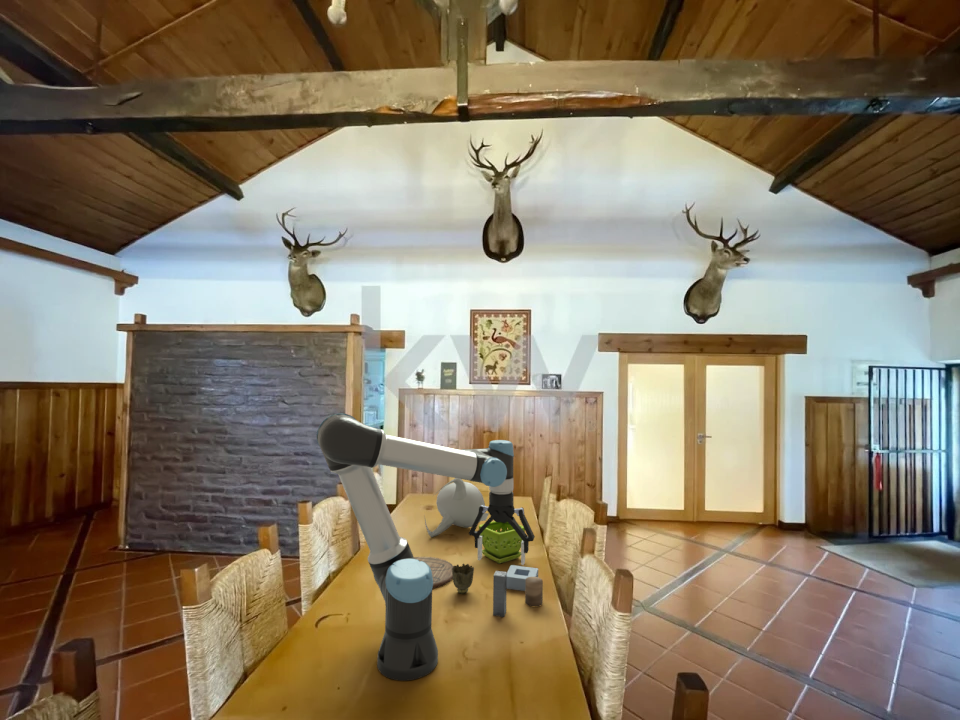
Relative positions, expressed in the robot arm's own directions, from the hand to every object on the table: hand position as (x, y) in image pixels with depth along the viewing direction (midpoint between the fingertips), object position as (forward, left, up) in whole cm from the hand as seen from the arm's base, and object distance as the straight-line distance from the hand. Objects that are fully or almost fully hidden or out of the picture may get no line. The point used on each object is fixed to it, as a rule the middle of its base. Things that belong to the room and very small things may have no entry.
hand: (501, 561), depth 142 cm
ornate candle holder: (+10, +15, -16) cm, 24 cm away
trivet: (+19, +34, -16) cm, 42 cm away
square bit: (0, 0, -16) cm, 16 cm away
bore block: (+22, -3, -16) cm, 27 cm away
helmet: (+68, +35, -16) cm, 78 cm away
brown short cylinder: (+10, -9, -16) cm, 21 cm away
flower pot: (+43, +9, -16) cm, 47 cm away
